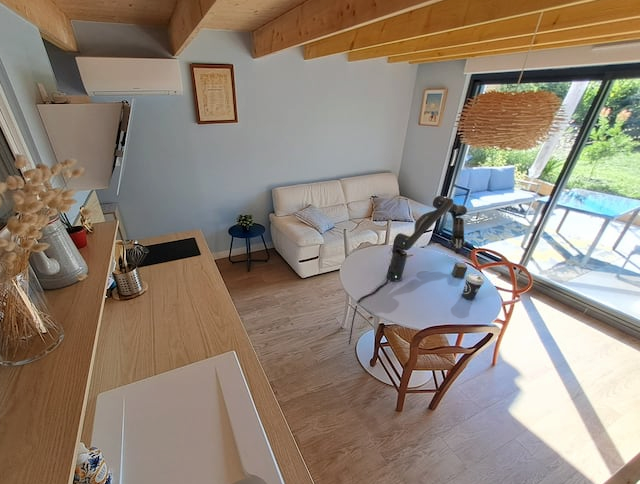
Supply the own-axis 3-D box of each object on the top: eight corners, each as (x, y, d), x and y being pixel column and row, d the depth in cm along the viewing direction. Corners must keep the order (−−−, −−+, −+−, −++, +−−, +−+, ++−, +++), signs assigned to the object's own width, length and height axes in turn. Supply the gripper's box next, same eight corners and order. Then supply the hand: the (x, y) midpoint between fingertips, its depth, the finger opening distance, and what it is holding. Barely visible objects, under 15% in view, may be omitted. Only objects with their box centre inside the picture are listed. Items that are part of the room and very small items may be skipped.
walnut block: (451, 272, 205) (455, 262, 201) (461, 273, 204) (465, 263, 199) (454, 277, 200) (457, 266, 196) (463, 278, 199) (467, 267, 194)
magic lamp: (412, 264, 215) (415, 252, 209) (387, 262, 218) (390, 249, 213) (410, 260, 221) (414, 247, 215) (386, 257, 224) (389, 245, 219)
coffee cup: (470, 303, 175) (478, 283, 168) (456, 294, 183) (463, 275, 175) (479, 298, 179) (488, 279, 172) (465, 290, 186) (472, 271, 179)
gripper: (450, 229, 209) (449, 251, 205) (470, 230, 206) (469, 253, 202) (446, 232, 216) (445, 254, 212) (465, 234, 213) (465, 256, 209)
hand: (457, 253), depth 207 cm, fingers closed
